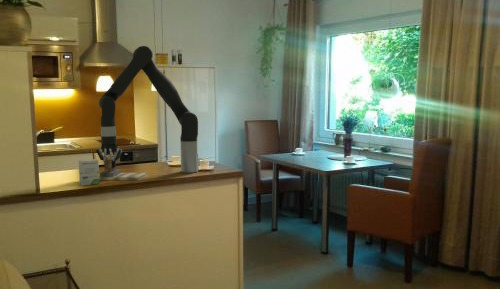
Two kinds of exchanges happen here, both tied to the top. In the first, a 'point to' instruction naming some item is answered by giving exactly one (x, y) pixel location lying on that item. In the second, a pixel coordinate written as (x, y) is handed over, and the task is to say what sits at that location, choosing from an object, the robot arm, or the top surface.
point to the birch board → (126, 176)
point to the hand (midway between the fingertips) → (110, 168)
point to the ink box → (89, 172)
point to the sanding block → (109, 169)
